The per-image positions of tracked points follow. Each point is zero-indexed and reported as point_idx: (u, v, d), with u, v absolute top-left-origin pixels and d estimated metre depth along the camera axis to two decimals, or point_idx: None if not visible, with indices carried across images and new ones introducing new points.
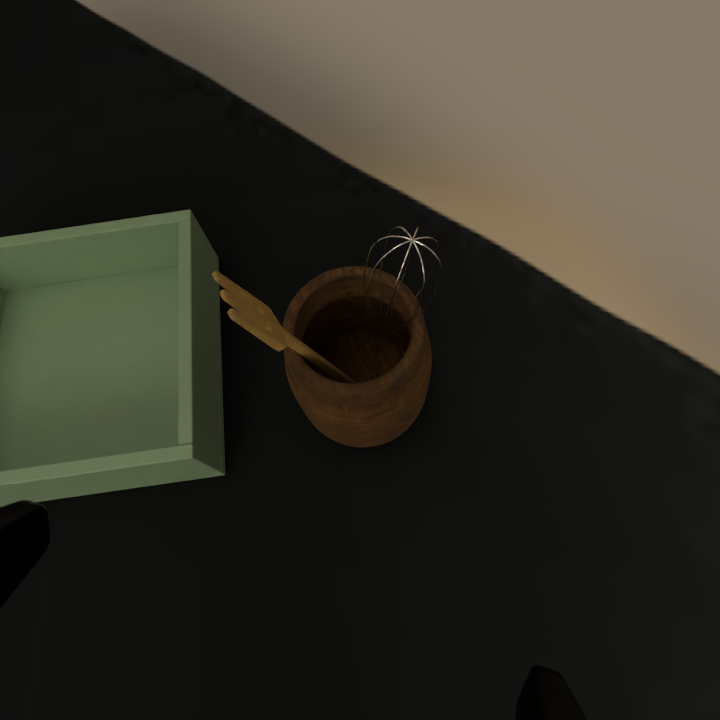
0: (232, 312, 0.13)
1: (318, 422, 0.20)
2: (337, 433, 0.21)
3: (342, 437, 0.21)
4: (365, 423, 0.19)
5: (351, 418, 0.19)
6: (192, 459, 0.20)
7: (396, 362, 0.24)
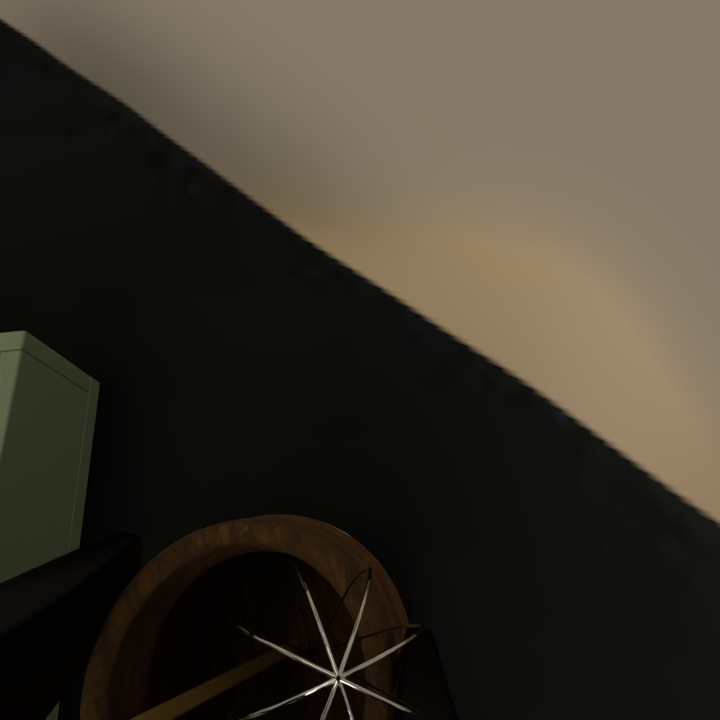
0: None
1: None
2: None
3: None
4: None
5: None
6: None
7: None
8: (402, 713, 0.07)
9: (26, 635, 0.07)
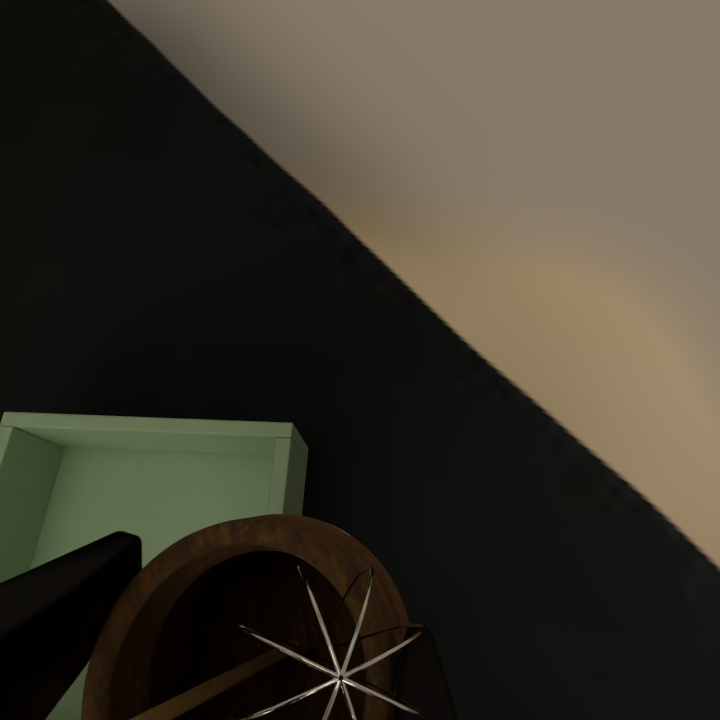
0: None
1: None
2: None
3: None
4: None
5: None
6: None
7: None
8: (402, 713, 0.07)
9: (26, 635, 0.07)
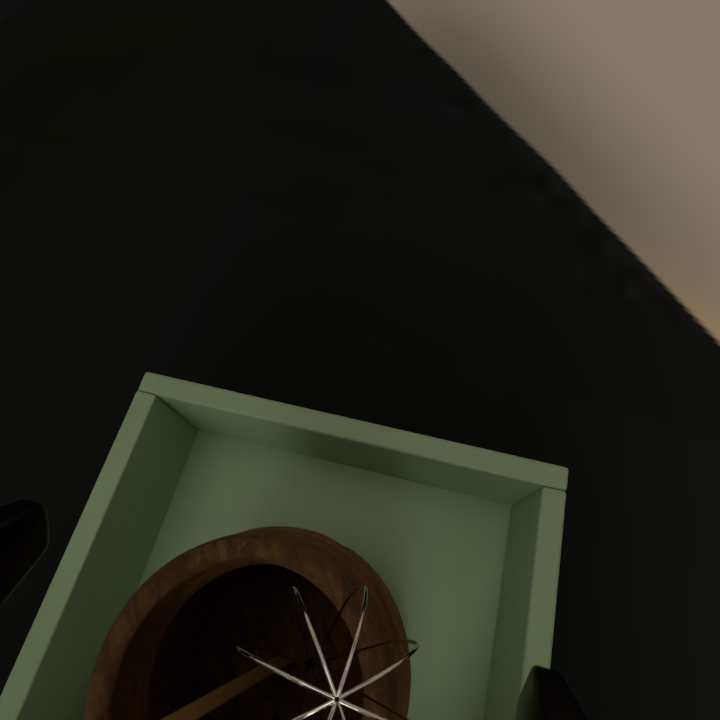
0: None
1: None
2: None
3: None
4: None
5: None
6: None
7: None
8: None
9: None
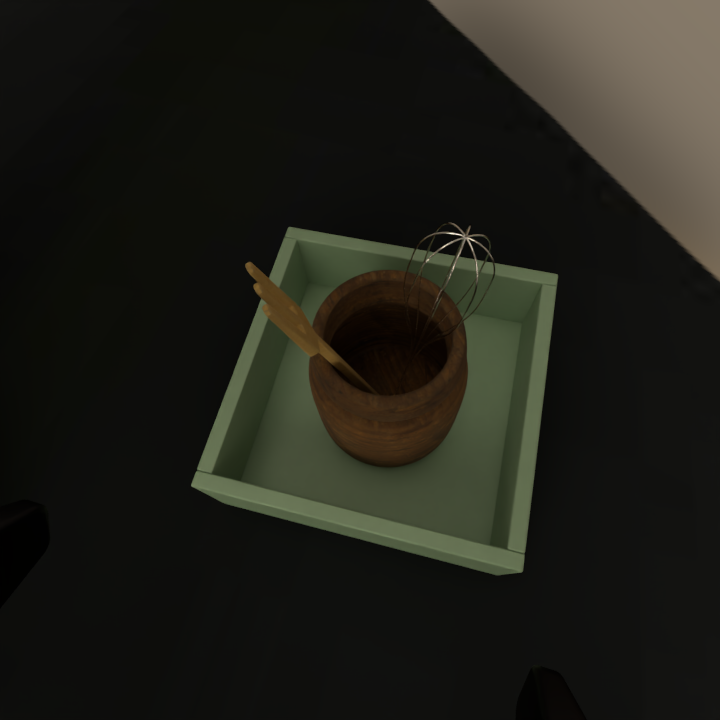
0: (268, 308, 0.11)
1: (342, 438, 0.19)
2: (362, 451, 0.19)
3: (367, 455, 0.19)
4: (396, 440, 0.17)
5: (381, 434, 0.17)
6: (518, 572, 0.17)
7: (423, 377, 0.23)
8: None
9: None
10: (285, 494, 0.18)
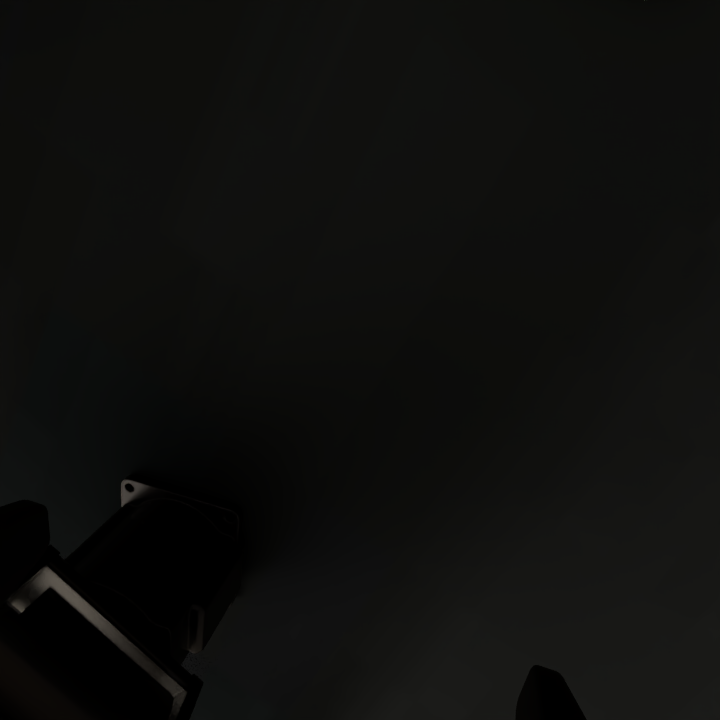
0: None
1: None
2: None
3: None
4: None
5: None
6: None
7: None
8: None
9: None
10: None
